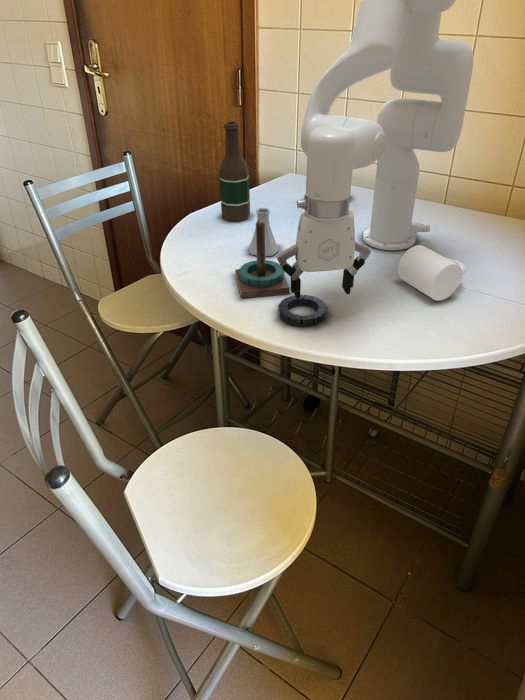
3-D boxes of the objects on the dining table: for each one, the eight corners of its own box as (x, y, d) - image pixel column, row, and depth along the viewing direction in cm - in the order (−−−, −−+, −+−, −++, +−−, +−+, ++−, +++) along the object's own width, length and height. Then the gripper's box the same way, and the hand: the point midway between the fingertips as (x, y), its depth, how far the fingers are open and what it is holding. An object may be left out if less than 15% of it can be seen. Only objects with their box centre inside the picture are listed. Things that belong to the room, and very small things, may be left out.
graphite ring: (319, 299, 106) (320, 292, 105) (331, 324, 99) (332, 317, 98) (275, 303, 105) (275, 297, 104) (283, 329, 98) (283, 322, 97)
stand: (280, 271, 116) (280, 209, 108) (289, 293, 108) (290, 228, 100) (235, 275, 115) (232, 213, 107) (241, 298, 107) (238, 232, 99)
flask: (275, 258, 122) (275, 217, 116) (245, 256, 123) (243, 215, 117) (281, 245, 127) (281, 205, 121) (252, 243, 128) (250, 203, 123)
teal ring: (278, 264, 116) (278, 258, 115) (287, 284, 109) (287, 277, 108) (237, 268, 115) (236, 262, 114) (243, 289, 107) (243, 282, 106)
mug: (427, 305, 104) (434, 269, 99) (394, 284, 111) (400, 249, 106) (472, 290, 108) (481, 255, 103) (438, 270, 115) (444, 236, 111)
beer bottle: (256, 214, 143) (253, 120, 129) (239, 224, 138) (235, 128, 123) (232, 209, 146) (227, 117, 132) (216, 218, 141) (209, 124, 127)
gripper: (281, 216, 86) (280, 307, 96) (383, 209, 88) (371, 299, 98) (273, 200, 92) (273, 287, 102) (368, 194, 94) (359, 280, 104)
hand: (321, 293), depth 100 cm, fingers open, 9 cm apart
